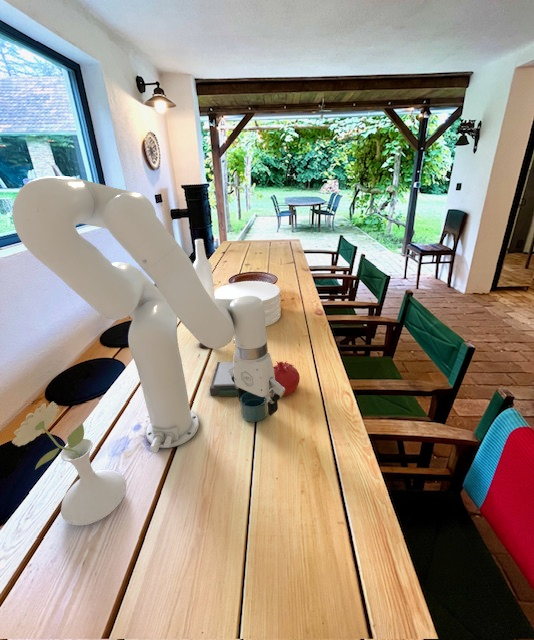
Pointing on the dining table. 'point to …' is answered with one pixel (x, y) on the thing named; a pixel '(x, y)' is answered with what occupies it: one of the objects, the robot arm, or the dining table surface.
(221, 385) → the scale
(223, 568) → the dining table surface
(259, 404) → the teal cup
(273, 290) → the plate stack
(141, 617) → the dining table surface
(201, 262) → the alcohol
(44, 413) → the flower in vase
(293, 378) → the pomegranate
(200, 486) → the dining table surface
